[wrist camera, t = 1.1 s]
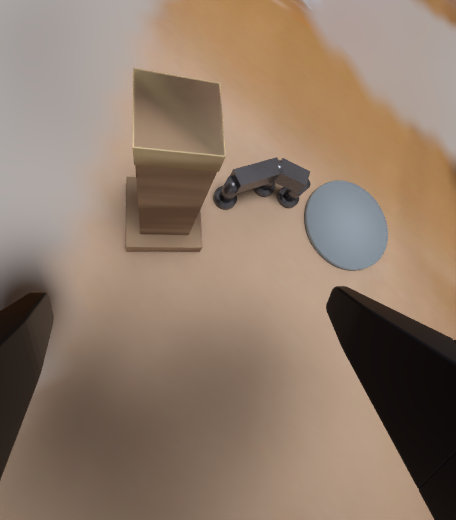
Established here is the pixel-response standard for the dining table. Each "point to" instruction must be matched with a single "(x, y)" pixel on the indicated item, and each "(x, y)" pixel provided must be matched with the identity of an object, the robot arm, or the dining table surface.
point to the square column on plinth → (172, 160)
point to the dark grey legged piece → (265, 182)
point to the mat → (346, 225)
